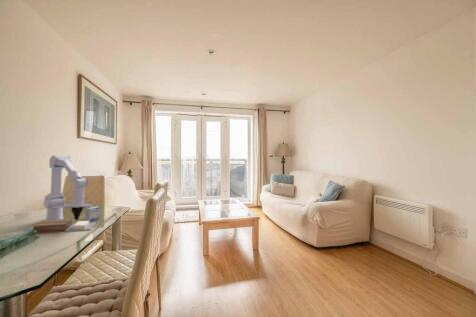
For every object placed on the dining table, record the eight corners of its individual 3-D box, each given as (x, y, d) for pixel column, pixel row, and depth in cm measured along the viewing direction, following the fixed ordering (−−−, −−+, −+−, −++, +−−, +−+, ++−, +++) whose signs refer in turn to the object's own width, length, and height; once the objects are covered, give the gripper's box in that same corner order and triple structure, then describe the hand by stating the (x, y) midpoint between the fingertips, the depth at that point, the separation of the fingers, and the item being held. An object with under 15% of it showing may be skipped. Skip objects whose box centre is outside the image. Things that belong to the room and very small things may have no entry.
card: (89, 220, 132) (89, 223, 132) (78, 221, 130) (77, 224, 130) (85, 225, 124) (85, 228, 124) (73, 225, 122) (73, 229, 122)
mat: (72, 224, 131) (73, 223, 131) (96, 223, 136) (96, 222, 136) (64, 231, 118) (64, 230, 118) (90, 230, 123) (90, 229, 123)
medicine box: (89, 221, 138) (90, 209, 138) (84, 220, 139) (85, 208, 139) (99, 218, 146) (100, 206, 146) (94, 217, 147) (95, 205, 147)
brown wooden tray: (43, 226, 124) (43, 220, 124) (71, 224, 130) (71, 218, 130) (33, 233, 113) (33, 226, 113) (64, 231, 119) (65, 224, 119)
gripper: (61, 199, 120) (59, 222, 119) (90, 198, 126) (89, 220, 125) (65, 197, 126) (64, 218, 126) (93, 196, 132) (92, 217, 132)
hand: (76, 219), depth 126 cm, fingers closed
